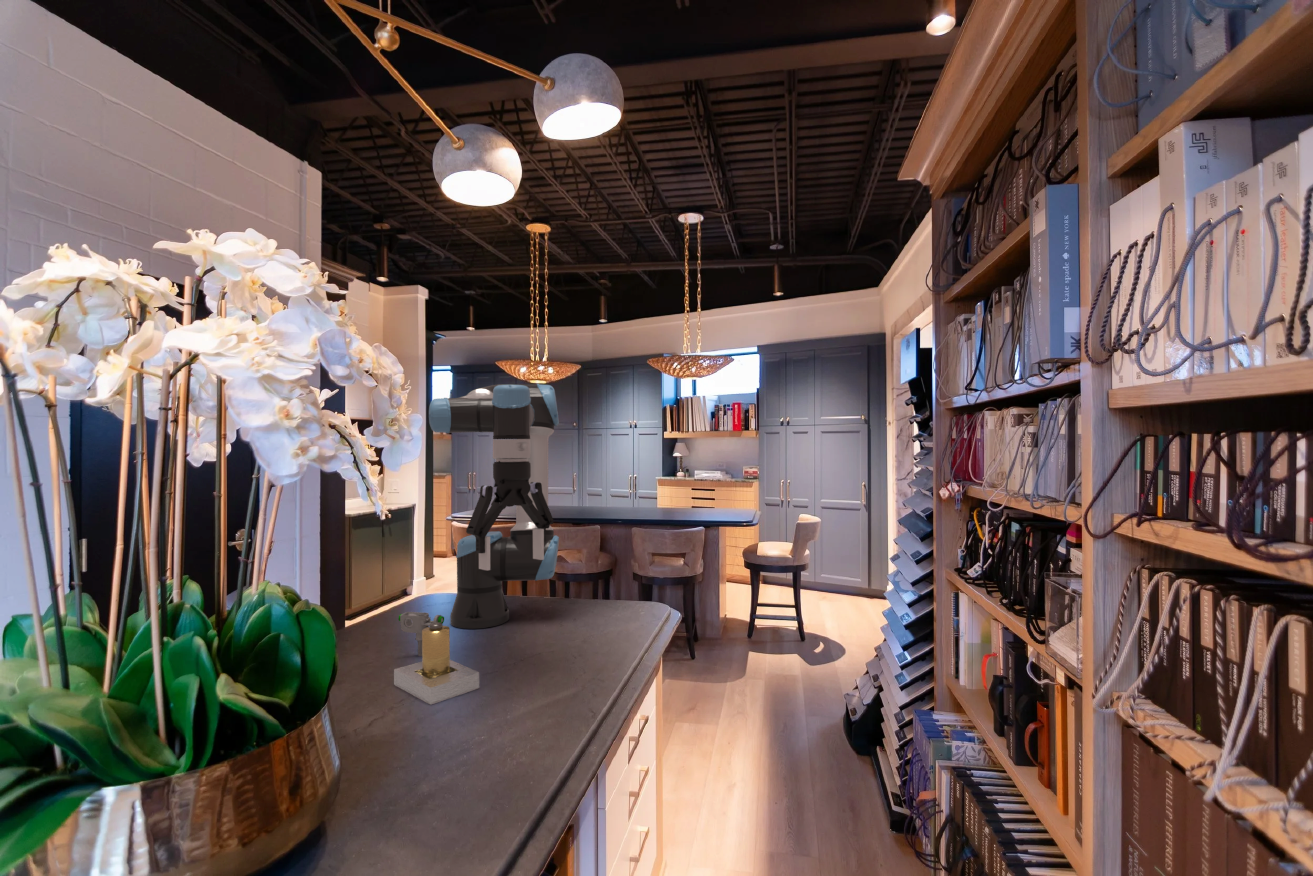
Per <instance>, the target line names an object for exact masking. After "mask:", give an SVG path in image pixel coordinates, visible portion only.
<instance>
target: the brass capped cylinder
mask: <svg viewBox="0 0 1313 876" xmlns="http://www.w3.org/2000/svg"><path fill="white" fill-rule="evenodd" d="M450 628H451V627H449V626H448V625H443V624H442V623H440V622H436V623H431V624H429V627H427V628H425V629H423V630H422V656H421V657H422V658H421V661H422V676H424V677H426V678H428V679H432V678H435V677H438V676H441V675H445V674H448V673H450V660H451V655H450V653H451V649H450V647H451V646H450V643H451V638H450V633H451V632H450Z"/></svg>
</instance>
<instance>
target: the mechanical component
mask: <svg viewBox="0 0 1313 876" xmlns="http://www.w3.org/2000/svg"><path fill="white" fill-rule="evenodd" d="M398 621H399V623H400V629H401V631H402V632H404V633H413V634H415V641H417V656H418V657H422V630H423V629H425V628H427V627H429V624H431V623H436V622H440V623H442V625H443V624H444V623H445V616H443V615H441V614H436V615H435V616H434V618H433V620H431V616H430V615H429V612H417V611H406V612H404V613H400V614H399V615H398Z"/></svg>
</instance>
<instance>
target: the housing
mask: <svg viewBox="0 0 1313 876" xmlns="http://www.w3.org/2000/svg"><path fill="white" fill-rule="evenodd" d="M393 686H395V687H396V688H399V689H400V690H402V691H404V692H406V693H408V694H410V695H412V696H413V697H415V698H417V699H419V700H421V701H422V702H425V703H426V704H427V705H431V706H432V705H435V704H437V703H440V702H443V701H446V700H449V699H453V698H455V697H457V696H461V695H464V694H466V693H470V692H473V691H475V690H478V689H480V672H479V671H477V670H475V669H473V668H471V667H467V666H465V665H464V664H461V663H459V662H456V661H454V660H452V659H450V673H448V674H445V675H441V676H438V677H435V678H432V679H428V678H426V677H424V676H422V660H421V661H419V662H415V663H412V664H411V663H410V664H409V665H405V666H401V667H396V668H394V669H393Z"/></svg>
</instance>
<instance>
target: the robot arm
mask: <svg viewBox="0 0 1313 876" xmlns="http://www.w3.org/2000/svg"><path fill="white" fill-rule="evenodd" d="M559 420H560V419H559V413H558V404H557V397H556V391H555V388H554V387H553V386H552V385H550V384H539V383H531V384H530V383H529V384H528V383H527V384H526V383H525V384H524V383H523V384H518V383H517V384H512V383H511V384H510V383H509V384H508V383H507V384H504V383H503V384H499V383H498V384H492V385H488V386H483V387H479V388H476V389H473V390H471V391H470V392H468V393H467V394H466V395H464V396H460V397H455V398H454V397H453V398H448V397H443V398H433V399H432V400H431V401H430V403H429V407H428V423H429V426H430V429H431V431H433V432H435V433H441V434H443V433H444V434H452V433H456V434H457V433H458V434H459V433H492V435H493V436H492V459H494V460H495V461H494V462H493V463H492V478H493V481H494V485H493V486H492V485H481V486H480V490H479V498H478V500H477V503H476V505H475V507H474V509H473V512H472V515H471V518H470V520H469V523H468V525H467V527H466V530H465V532H466V534H468V535H467V536H464V537H462V538H460V539H459V540H458V542H457V544H456V545H457V546H456V556H455V558H456V591H457V592H456V596H455V599H454V602H453V605H452V608H451V611H450V617H449V619H450V620H449V621H450V625H451V626H453V627H454V628H459V629H466V630H467V629H469V630H470V629H473V630H475V629H485V628H491V627H496V626H500V625H503V624H505V623H507V622H508V621H509V620H510V610H509V607H508V603H507V600H506V598H505V595H504V591H503V582H517V581H519V582H520V581H522V582H523V581H535V582H536V581H537V582H538V581H542V580H543V581H544V580H549V579H550V580H551V579H552V578H553V576H554V575H555V573H556V572H555V571H556V567H557V561H558V554H559V553H558V552H559V543H560V537H559V536H558V535H555V534H554V533H555V532H554V528H553V527H552V526H551V525H553V524H554V522H555V520H554V518H553V515H552V513H551V511H550V510H551V509H550V508H549V437H551V436H552V435H553V434H554V432H555V427H557V426H559V425H560V421H559ZM493 496H495V497H494V499H493ZM492 499H493V500H492ZM513 506H516V507H515V508H516V510H515V511H516V513H515V514H516V515H515V518H516V519H515V520H516V521H515V525H514V526H513V527H511V529H510V530H509V532H510V535H509V536H507V537H506V536H504V535H503V533H502V532H501V531H499V530H497V531H493V530H492V531H490V530H491V528H492V527H493V526H494V524H495V523H496V521H497V519H498V518H499V516H500V515H501V514H502V512H503V510H505V509H506V508H508V507H513Z"/></svg>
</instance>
